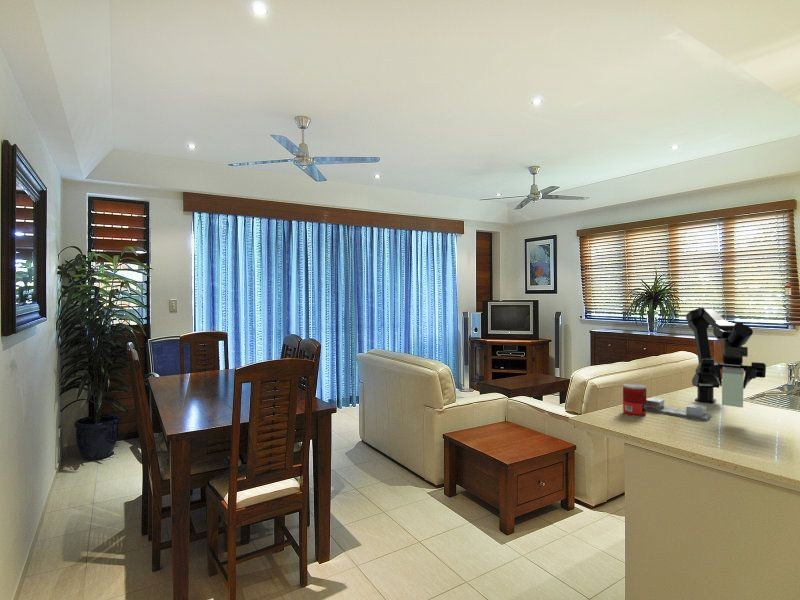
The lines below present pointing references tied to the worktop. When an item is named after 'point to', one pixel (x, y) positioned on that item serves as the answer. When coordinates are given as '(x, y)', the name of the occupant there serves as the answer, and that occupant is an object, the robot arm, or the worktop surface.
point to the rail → (690, 412)
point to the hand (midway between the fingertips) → (732, 386)
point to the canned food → (634, 399)
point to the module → (732, 386)
